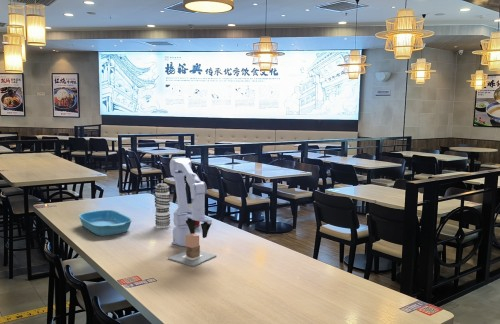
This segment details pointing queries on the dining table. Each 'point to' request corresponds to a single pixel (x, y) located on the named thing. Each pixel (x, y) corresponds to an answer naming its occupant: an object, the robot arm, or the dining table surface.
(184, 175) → the robot arm
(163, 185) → the white striped cylinder
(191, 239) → the terracotta block
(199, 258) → the board
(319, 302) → the dining table surface
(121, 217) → the casserole dish
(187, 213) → the plastic cup
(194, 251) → the walnut block
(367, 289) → the dining table surface
